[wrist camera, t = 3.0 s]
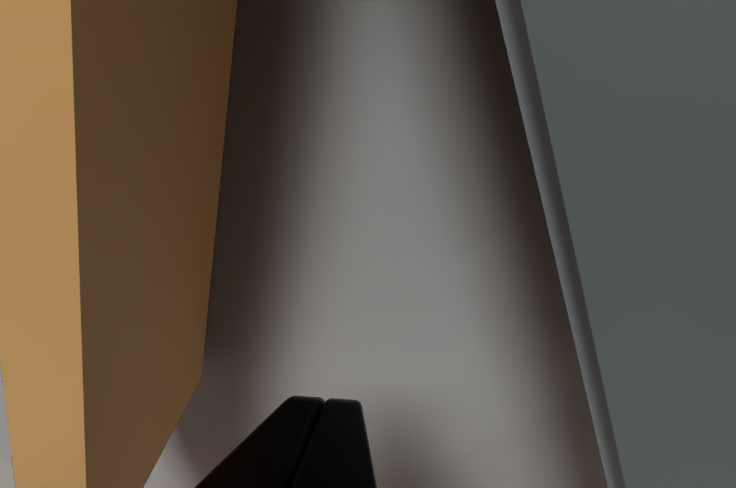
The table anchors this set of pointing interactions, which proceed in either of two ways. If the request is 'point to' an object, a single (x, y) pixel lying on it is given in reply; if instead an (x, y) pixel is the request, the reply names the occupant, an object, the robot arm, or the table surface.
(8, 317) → the side door
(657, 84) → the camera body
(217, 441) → the table surface
